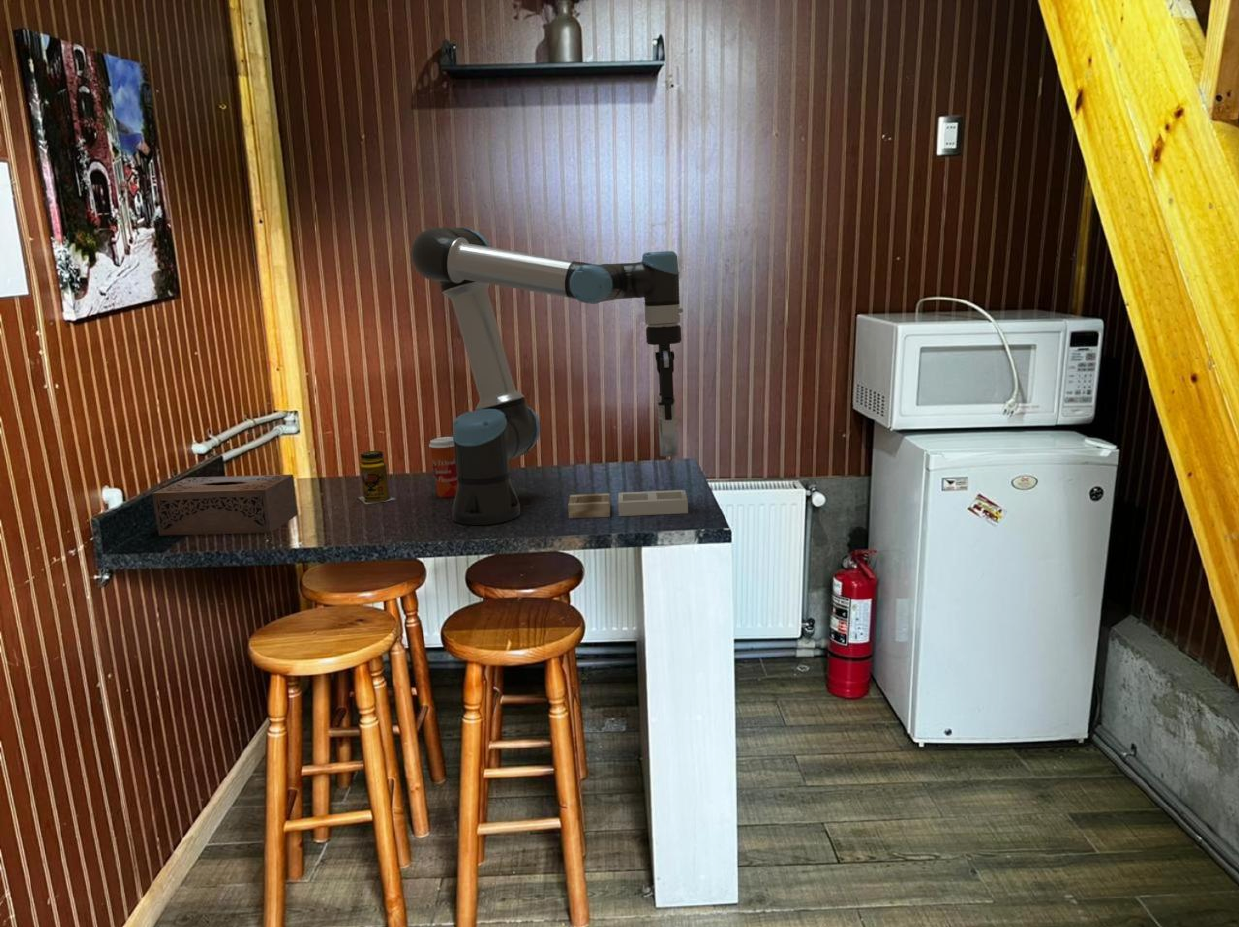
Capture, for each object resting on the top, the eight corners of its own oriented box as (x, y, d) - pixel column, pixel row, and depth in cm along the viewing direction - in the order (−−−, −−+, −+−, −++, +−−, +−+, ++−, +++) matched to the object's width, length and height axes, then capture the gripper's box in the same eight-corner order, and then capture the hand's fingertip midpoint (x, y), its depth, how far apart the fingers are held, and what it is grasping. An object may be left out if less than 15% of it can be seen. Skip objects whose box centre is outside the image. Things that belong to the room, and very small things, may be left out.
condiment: (365, 505, 219) (360, 456, 216) (358, 498, 226) (353, 451, 224) (395, 500, 222) (390, 452, 220) (387, 493, 229) (382, 447, 227)
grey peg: (666, 457, 197) (663, 398, 195) (656, 454, 201) (653, 396, 198) (681, 454, 199) (679, 396, 197) (671, 452, 203) (669, 394, 200)
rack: (618, 516, 199) (618, 503, 198) (618, 505, 207) (618, 492, 207) (688, 513, 198) (687, 499, 198) (685, 502, 207) (684, 489, 207)
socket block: (568, 518, 199) (568, 505, 198) (571, 507, 207) (570, 495, 207) (609, 516, 199) (609, 503, 198) (610, 505, 207) (609, 493, 207)
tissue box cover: (298, 515, 213) (292, 474, 211) (271, 533, 199) (265, 489, 197) (193, 518, 215) (186, 477, 213) (159, 536, 201) (151, 493, 199)
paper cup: (428, 498, 222) (422, 442, 219) (441, 490, 230) (436, 436, 227) (457, 498, 220) (452, 442, 217) (470, 491, 228) (465, 436, 225)
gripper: (683, 326, 186) (688, 438, 191) (678, 321, 202) (682, 424, 207) (646, 328, 186) (652, 440, 191) (644, 323, 202) (650, 426, 207)
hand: (668, 432), depth 199 cm, fingers closed on grey peg, 4 cm apart
